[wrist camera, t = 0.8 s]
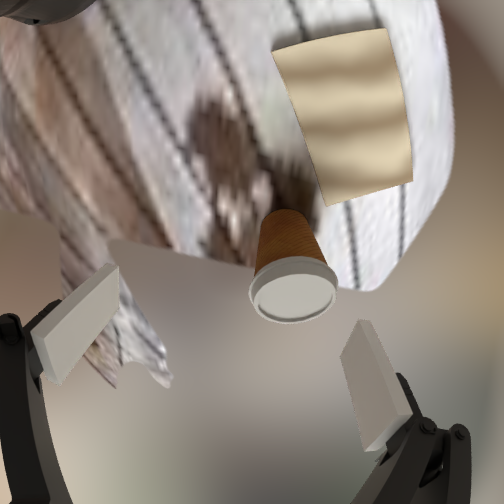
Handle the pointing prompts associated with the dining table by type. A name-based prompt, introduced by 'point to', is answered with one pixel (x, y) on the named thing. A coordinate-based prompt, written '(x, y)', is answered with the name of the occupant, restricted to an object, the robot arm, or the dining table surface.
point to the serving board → (349, 111)
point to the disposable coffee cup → (291, 271)
